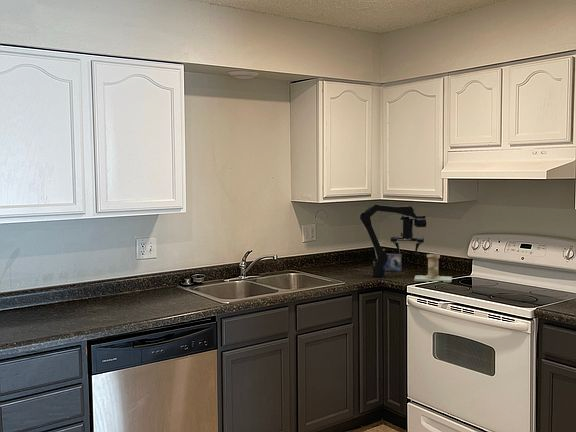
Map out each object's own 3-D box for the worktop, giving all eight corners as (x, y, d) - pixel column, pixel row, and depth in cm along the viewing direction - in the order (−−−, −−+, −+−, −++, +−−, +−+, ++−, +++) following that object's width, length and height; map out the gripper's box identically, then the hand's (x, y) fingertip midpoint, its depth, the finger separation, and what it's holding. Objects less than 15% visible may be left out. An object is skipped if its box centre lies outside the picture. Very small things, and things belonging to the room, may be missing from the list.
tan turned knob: (428, 278, 334) (429, 256, 333) (424, 276, 341) (424, 254, 340) (441, 278, 334) (441, 255, 334) (436, 276, 342) (437, 254, 341)
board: (414, 280, 335) (414, 278, 334) (415, 277, 346) (415, 275, 346) (451, 282, 329) (451, 280, 329) (451, 278, 341) (451, 276, 341)
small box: (383, 271, 366) (383, 254, 366) (384, 270, 373) (384, 253, 372) (401, 272, 364) (401, 255, 363) (401, 270, 370) (401, 253, 370)
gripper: (424, 226, 352) (424, 253, 353) (392, 225, 357) (392, 252, 358) (423, 228, 341) (423, 255, 342) (390, 227, 346) (390, 254, 347)
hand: (407, 254), depth 347 cm, fingers open, 9 cm apart
